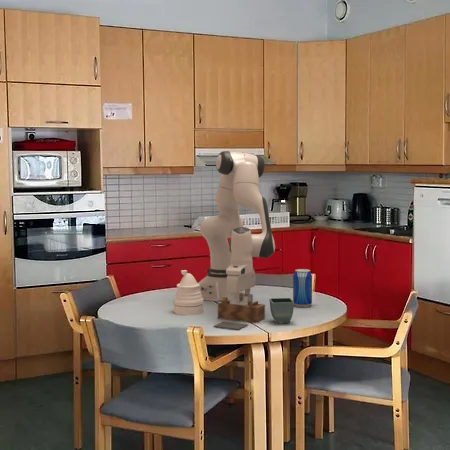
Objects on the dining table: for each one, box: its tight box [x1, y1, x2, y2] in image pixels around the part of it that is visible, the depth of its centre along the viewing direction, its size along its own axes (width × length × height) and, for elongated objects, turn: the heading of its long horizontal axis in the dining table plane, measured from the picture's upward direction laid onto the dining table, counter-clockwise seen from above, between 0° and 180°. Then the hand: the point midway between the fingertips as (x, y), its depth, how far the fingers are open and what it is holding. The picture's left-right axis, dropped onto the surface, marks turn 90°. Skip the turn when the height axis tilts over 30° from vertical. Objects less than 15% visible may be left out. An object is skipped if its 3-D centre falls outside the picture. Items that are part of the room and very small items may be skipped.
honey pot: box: [173, 269, 205, 316], centre depth 294 cm, size 13×13×18 cm
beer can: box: [292, 268, 313, 308], centre depth 305 cm, size 8×8×16 cm
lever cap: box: [230, 292, 254, 306], centre depth 281 cm, size 8×5×5 cm, turn 63°
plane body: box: [217, 297, 266, 323], centre depth 281 cm, size 18×7×8 cm, turn 63°
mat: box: [213, 321, 249, 331], centre depth 268 cm, size 11×8×1 cm
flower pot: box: [268, 297, 295, 324], centre depth 275 cm, size 9×9×9 cm
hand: (242, 301), depth 281 cm, fingers open, 7 cm apart
